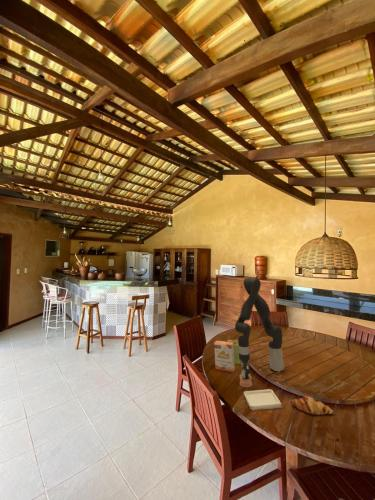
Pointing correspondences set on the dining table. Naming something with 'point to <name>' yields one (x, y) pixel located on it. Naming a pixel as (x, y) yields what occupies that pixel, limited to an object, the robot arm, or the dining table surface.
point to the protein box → (236, 351)
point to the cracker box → (224, 356)
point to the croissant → (311, 406)
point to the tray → (262, 399)
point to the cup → (245, 381)
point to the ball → (243, 373)
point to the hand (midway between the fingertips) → (245, 376)
